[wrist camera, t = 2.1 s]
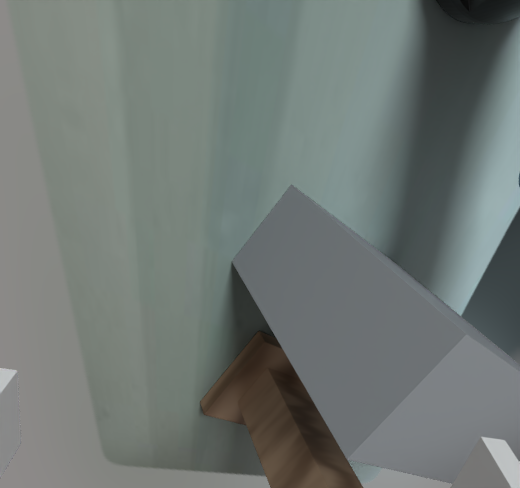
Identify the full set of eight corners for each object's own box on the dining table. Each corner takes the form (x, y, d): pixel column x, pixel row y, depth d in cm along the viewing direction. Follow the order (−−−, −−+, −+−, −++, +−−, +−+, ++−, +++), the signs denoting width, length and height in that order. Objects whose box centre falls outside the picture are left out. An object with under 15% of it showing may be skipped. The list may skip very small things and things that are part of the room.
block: (231, 261, 43) (347, 459, 24) (291, 184, 41) (466, 334, 22) (346, 323, 54) (486, 491, 35) (398, 264, 52) (574, 409, 33)
